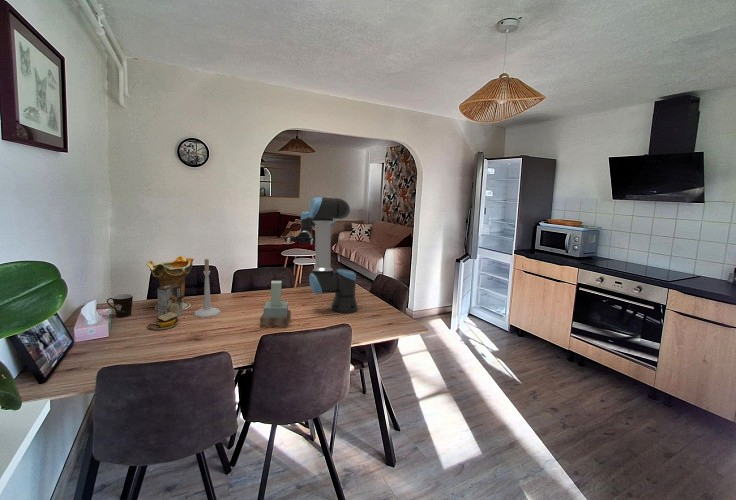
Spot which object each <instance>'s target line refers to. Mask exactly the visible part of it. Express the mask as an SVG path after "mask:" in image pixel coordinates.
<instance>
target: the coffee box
mask: <svg viewBox="0 0 736 500" xmlns="http://www.w3.org/2000/svg"><path fill="white" fill-rule="evenodd" d="M156 296H157V305H158V310H157V312H158V314H157V315H158V316H157V317H159V316H162V315H164V314H166V313H168V312H172V313H175V314H177V315H178V317H181V316H183V310H182V302H183V301H182V298H181V286H180V285H173V284H171V285H167V286H164V287H161V286H159V287H157V289H156Z"/></svg>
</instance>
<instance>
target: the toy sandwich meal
mask: <svg viewBox="0 0 736 500" xmlns="http://www.w3.org/2000/svg"><path fill="white" fill-rule="evenodd" d="M156 318H157V320H154V321H151V322H149V323H148V324H147V325H146V326H147V328H148V329H150V330H153V331H164V330H168V329H172V328H174V327H175V326H176V325H178V322H179V321H180V320H179V318H178V315H177V314H175V313H172V312H168V313H166V314H164V315H162V316H159V317H158V316H157V317H156Z"/></svg>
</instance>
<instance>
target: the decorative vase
mask: <svg viewBox="0 0 736 500" xmlns="http://www.w3.org/2000/svg"><path fill="white" fill-rule="evenodd" d="M193 262H194V258H192V257H187V258H185V256H183V255H180V256H177V258H176V259H175V260H172V261H165V262H164V261H163V262H158V263H157V262H156V263H155V261H154V260H149V261H147V263H146V266H147V267H148V268H149V270H150V273H151V275H152V277H154V278H158V280H159V281H158V282H159V284H160V286H159V287H164V286H167V285H171V284H173V285H180V286H181V298H182V311H183V310H186V309H188V308H190V307H191V303H189V302H187V301H184V298H185V288H186V287H185V285H186V277H187V276H188V275H189V274H190V272H191V271H192V268H193ZM154 309H155V310H156V311H158V304H156V305H154Z"/></svg>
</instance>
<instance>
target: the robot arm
mask: <svg viewBox="0 0 736 500" xmlns="http://www.w3.org/2000/svg"><path fill="white" fill-rule="evenodd" d="M350 213H351V208H350V205H349V203H348V202H347V201H346V200H344V199H342V198H337V197H321V196H319V197H318V196H317V197H314V198H312V200H311V202H310V203H309V209H308V211H302V212H301V214H300V232H299V233H298V235H296V236H294V235H290V236H285V237H284V240H283V241H284V242H286V244H290V243H291V242H296V243H298V242H299V244H302V245H305V244H307V243H310V245H311V246H312V245H313V244H314V246H315V247H314V250H315V251H314V252H315V253H314V255H315V256H314V258H315V259H314V260H315V263H314V264H315V265H314V268H313V269H312V272H311V273H309V278H308V281H309V282H308V283H309V286H310V289H311V291H312V293H313V294H316V295H322V294H334V299H333V301H332V303H331V310H332V311H333V312H336V313H341V314H351V313H350V312H352V313H355V312H357V311H356V310H358V304H357V299H356V286H357V285H356V283H357V274H356V273H355V272H354V271H353V270H348V269H343V268H342V269H341V268H339V269H336V271H335V272H334V269H333V268H332V266H331V227H334V224H335V223H336V222H337V221H339V220H345V218H347V217H348V216H349V215H350ZM313 227H314V233H315V234H314V236H313ZM354 311H355V312H354Z"/></svg>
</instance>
